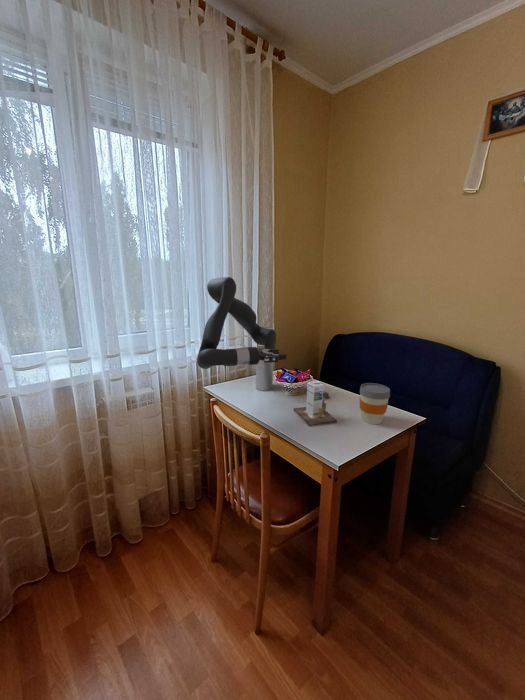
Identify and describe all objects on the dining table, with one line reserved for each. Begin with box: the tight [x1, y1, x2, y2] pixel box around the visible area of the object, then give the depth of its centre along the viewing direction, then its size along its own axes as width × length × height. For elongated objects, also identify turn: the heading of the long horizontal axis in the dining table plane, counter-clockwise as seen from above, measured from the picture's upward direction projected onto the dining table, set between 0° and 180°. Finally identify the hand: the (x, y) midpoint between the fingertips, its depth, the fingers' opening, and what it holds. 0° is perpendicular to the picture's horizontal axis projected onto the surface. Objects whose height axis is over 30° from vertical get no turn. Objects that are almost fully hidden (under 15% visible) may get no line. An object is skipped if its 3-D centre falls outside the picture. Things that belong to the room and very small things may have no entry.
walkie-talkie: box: [305, 388, 330, 403], centre depth 163 cm, size 9×4×20 cm
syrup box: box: [305, 380, 326, 417], centre depth 140 cm, size 6×6×14 cm
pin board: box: [293, 402, 338, 427], centre depth 142 cm, size 16×13×6 cm
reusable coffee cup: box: [358, 382, 391, 425], centre depth 139 cm, size 12×13×15 cm
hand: (282, 354), depth 137 cm, fingers open, 8 cm apart
